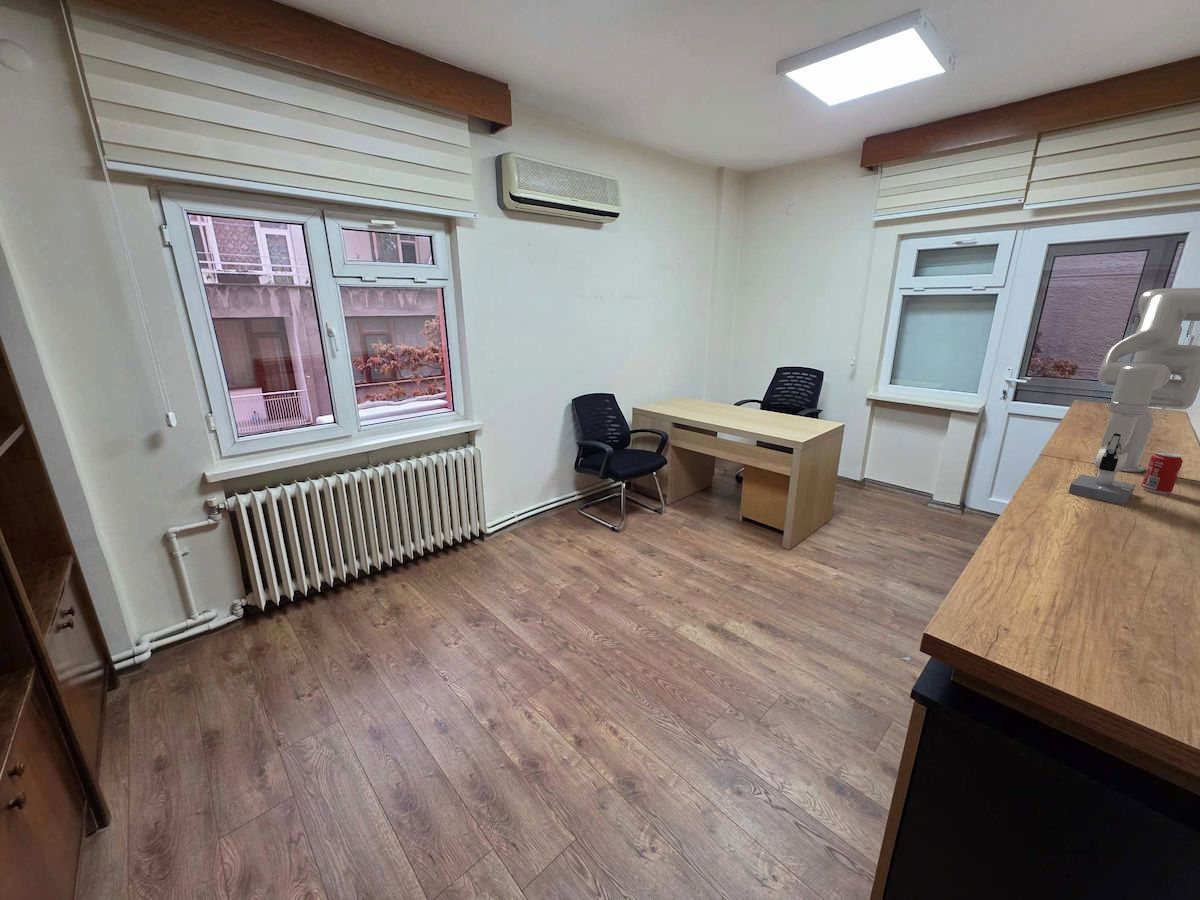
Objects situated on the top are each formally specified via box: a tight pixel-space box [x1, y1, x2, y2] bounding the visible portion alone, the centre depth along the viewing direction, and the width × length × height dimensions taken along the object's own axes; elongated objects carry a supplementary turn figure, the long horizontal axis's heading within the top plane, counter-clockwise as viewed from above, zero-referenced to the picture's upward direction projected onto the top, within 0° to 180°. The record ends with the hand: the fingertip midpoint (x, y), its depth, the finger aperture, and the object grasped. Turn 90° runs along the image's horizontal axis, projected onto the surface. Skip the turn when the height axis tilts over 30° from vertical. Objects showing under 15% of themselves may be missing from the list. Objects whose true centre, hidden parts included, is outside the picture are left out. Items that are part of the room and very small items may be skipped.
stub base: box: [1068, 468, 1136, 506], centre depth 145 cm, size 14×12×8 cm
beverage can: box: [1141, 451, 1184, 495], centre depth 146 cm, size 6×6×12 cm
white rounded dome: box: [1094, 448, 1128, 472], centre depth 143 cm, size 6×6×5 cm
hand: (1108, 467), depth 144 cm, fingers closed on white rounded dome, 6 cm apart
